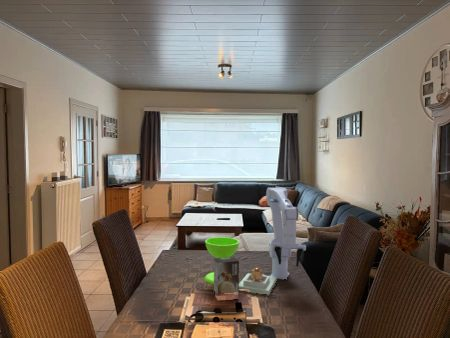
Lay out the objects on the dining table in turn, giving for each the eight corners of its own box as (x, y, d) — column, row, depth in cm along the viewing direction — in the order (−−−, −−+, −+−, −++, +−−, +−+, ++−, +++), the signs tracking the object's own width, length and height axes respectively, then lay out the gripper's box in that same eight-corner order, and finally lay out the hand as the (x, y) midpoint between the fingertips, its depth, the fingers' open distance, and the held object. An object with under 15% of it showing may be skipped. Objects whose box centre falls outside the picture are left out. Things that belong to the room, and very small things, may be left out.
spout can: (252, 280, 163) (252, 266, 163) (263, 281, 162) (263, 267, 161) (249, 284, 158) (250, 269, 158) (261, 285, 157) (261, 270, 156)
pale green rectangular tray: (247, 277, 173) (248, 269, 173) (276, 281, 168) (277, 272, 168) (236, 290, 156) (237, 281, 156) (268, 295, 151) (269, 286, 151)
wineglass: (235, 286, 160) (236, 246, 160) (200, 283, 164) (201, 244, 163) (240, 274, 176) (241, 238, 175) (209, 271, 179) (209, 236, 178)
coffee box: (234, 293, 152) (235, 256, 152) (238, 299, 146) (239, 260, 145) (213, 295, 150) (214, 257, 149) (216, 302, 144) (217, 262, 143)
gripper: (271, 234, 158) (270, 265, 158) (305, 237, 153) (304, 269, 154) (274, 231, 165) (273, 261, 165) (306, 234, 160) (306, 264, 160)
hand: (288, 264), depth 160 cm, fingers open, 7 cm apart
